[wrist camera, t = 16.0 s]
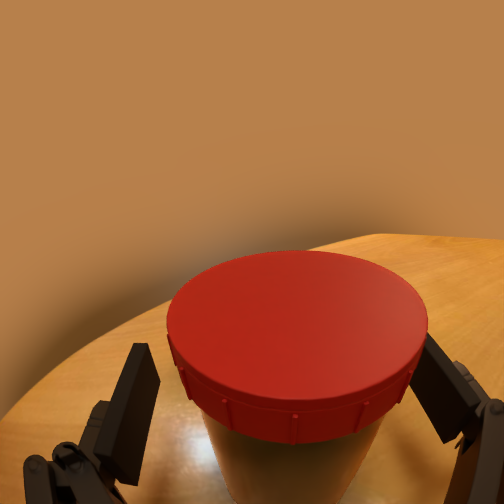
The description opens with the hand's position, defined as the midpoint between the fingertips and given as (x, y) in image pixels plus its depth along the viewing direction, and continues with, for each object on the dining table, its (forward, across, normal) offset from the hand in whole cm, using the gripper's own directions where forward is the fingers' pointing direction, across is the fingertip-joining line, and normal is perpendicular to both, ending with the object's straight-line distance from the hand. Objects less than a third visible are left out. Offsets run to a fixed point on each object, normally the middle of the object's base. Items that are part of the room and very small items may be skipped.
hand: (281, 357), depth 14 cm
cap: (-3, 0, +5) cm, 6 cm away
